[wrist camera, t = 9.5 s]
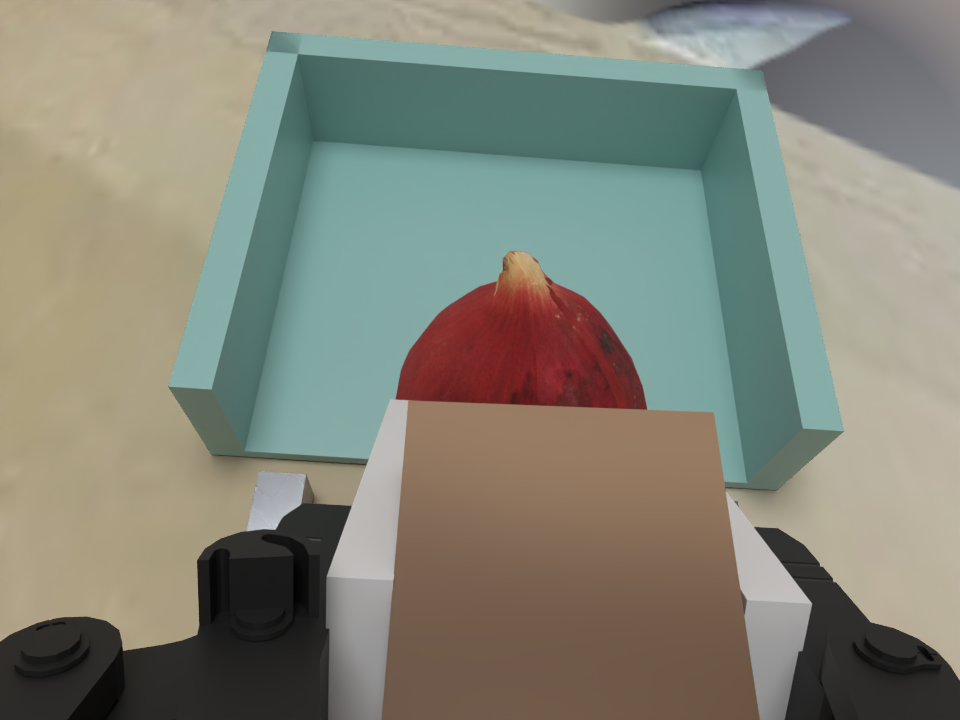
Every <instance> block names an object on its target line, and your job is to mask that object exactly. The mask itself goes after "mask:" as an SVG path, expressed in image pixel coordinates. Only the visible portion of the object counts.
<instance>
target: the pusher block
mask: <svg viewBox="0 0 960 720" xmlns="http://www.w3.org/2000/svg"><path fill="white" fill-rule="evenodd" d="M382 720H760V718H759V711H758V704H757V697H756V691H755V684H754V677H753V671H752V664H751V657H750V651H749V644H748V637H747V631H746V624H745V617H744V610H743V604H742V597H741V590H740V584H739V577H738V570H737V564H736V557H735V550H734V544H733V537H732V530H731V523H730V517H729V510H728V503H727V497H726V490H725V483H724V477H723V470H722V463H721V456H720V450H719V443H718V436H717V430H716V423H715V416H714V412H691V411H665V410H640V409H614V408H589V407H563V406H538V405H512V404H487V403H461V402H436V401H410V400H408V410H407V422H406V434H405V446H404V458H403V469H402V481H401V493H400V505H399V517H398V529H397V541H396V553H395V565H394V583H393V591H392V600H391V612H390V624H389V636H388V648H387V660H386V672H385V684H384V696H383V708H382Z"/></svg>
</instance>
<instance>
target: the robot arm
mask: <svg viewBox="0 0 960 720" xmlns="http://www.w3.org/2000/svg"><path fill="white" fill-rule="evenodd" d="M410 401H411V400H410ZM407 410H408V400H395V399H390V401H389V404H388V407H387V410H386V413H385V415H384V418H383V421H382V424H381V427H380V429H379V432H378V435H377V438H376V440H375V443H374V446H373V449H372V452H371V454H370V457H369V460H368V463H367V466H366V468H365V471H364V474H363V477H362V479H361V482H360V485H359V488H358V491H357V493H356V496H355V499H354V502H353V505H352V506H343V505H326V504H308V503H303V504H301V505H300V506H298V507H297V508H295V509H294V510H292V511H291V512H289V513H288V514H286V515H285V516H283V517H282V519H281V520H280V522H279V524H278V526H277V528H276V530H271V529H261V530H253V531H245V532H240V533H237V534H234V535H231V536H228V537H224V538H221V539H220V540H218V541H216V542H215V543H213V544H212V545H210V546H208V547H207V548H205V550H204V551H203V553H202V554H201V555H200V557H199V558H198V560H197V569H198V598H199V630H198V634H197V635H196V636H194V637H191V638H188V639H185V640H183V641H178V642H174V643H169V644H165V645H159V646H152V647H146V648H139V649H133V650H126V651H123V648H122V640H121V636H120V632H119V630H118V629H117V628H115V627H114V626H113V625H111V624H110V623H108V622H107V621H104V620H99V619H95V618H90V617H63V618H56V619H52V620H50V621H49V620H47V621H43V622H40V623H36V624H34V625H32V626H29V627H27V628H25V629H22V630H20V631H18V632H15V633H13V634H11V635H9V636H8V637H6V638H5V639H4V640H2V641H1V642H0V720H382V708H383V696H384V684H385V672H386V660H387V648H388V636H389V624H390V612H391V600H392V591H393V583H394V565H395V553H396V541H397V529H398V517H399V505H400V493H401V481H402V469H403V458H404V446H405V434H406V422H407ZM726 497H727V503H728V510H729V517H730V523H731V530H732V537H733V544H734V550H735V557H736V564H737V570H738V577H739V584H740V590H741V597H742V604H743V610H744V617H745V624H746V631H747V637H748V644H749V651H750V657H751V664H752V671H753V677H754V684H755V691H756V697H757V704H758V711H759V718H760V720H960V680H959V679H958V677H957V676H956V674H955V673H954V671H953V670H952V668H951V666H950V665H949V664H948V663H947V662H946V661H945V660H944V659H943V658H942V656H941V655H940V654H939V653H938V652H937V651H935V650H934V649H932V648H931V647H929V646H928V645H926V644H925V643H923V642H922V641H920V640H919V639H917V638H915V637H913V636H910V635H908V634H906V633H903V632H901V631H899V630H897V629H894V628H890V627H886V626H883V625H879V624H875V623H871V622H870V621H869V620H868V619H867V618H866V617H865V615H864V614H863V613H862V612H861V611H860V610H859V608H858V607H857V606H856V605H855V604H854V603H853V601H852V600H851V599H850V598H849V597H848V596H847V594H846V593H845V592H844V591H843V590H842V589H841V587H840V586H839V585H838V584H837V583H836V582H833V578H832V577H831V576H830V575H829V573H828V572H827V571H826V570H825V569H824V568H823V567H820V563H819V562H818V561H817V560H816V558H815V557H814V556H813V555H812V554H811V553H810V551H809V550H808V549H807V548H806V547H805V546H804V545H803V544H802V543H800V542H799V541H797V540H795V539H794V538H792V537H791V536H789V535H787V534H786V533H784V532H783V531H781V530H780V529H778V528H761V527H753V526H752V524H751V523H750V522H749V520H748V519H747V518H746V517H745V515H744V514H743V513H742V511H741V510H740V509H739V507H738V506H737V505H736V503H735V502H734V501H733V499H732V498H731V497H730V496H729V494H728V493H727V492H726Z"/></svg>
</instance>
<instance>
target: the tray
mask: <svg viewBox="0 0 960 720" xmlns="http://www.w3.org/2000/svg"><path fill="white" fill-rule="evenodd" d="M509 251H522V252H526V253H529V254H530V255H531V256H532V257H534V258H535V259H536V260H538V262H539V265H540V267H541V269H542V271H543V272H544V273H545V274H546V275H547V276H548V277H549V278H550V279H551V280H552V281H553V282H554V283H556V284H558V285H560V286H563V287H565V288H567V289H570V290H572V291H574V292H576V293H578V294H580V295H581V296H583V297H585V298H586V299H587V300H588V301H589V302H590V303H591V304H592V305H593V306H594V307H595V308H596V309H597V310H598V311H599V312H600V313H601V314H602V315H603V317H604V318H605V319H606V320H607V322H608V323H609V324H610V326H611V327H612V329H613V330H614V332H615V333H616V335H617V336H618V338H619V339H620V341H621V342H622V344H623V345H624V347H625V348H626V350H627V352H628V353H629V355H630V356H631V358H632V360H633V363H634V365H635V368H636V371H637V373H638V376H639V378H640V381H641V383H642V386H643V390H644V395H645V400H646V405H647V410H665V411H691V412H714V416H715V423H716V430H717V436H718V443H719V450H720V456H721V463H722V470H723V477H724V483H725V487H732V488H748V489H764V490H777V489H778V488H780V487H781V486H782V485H783V484H784V483H785V482H786V481H788V480H789V479H790V478H791V477H792V476H793V475H794V474H796V473H797V472H798V471H799V470H800V469H801V468H803V467H804V466H805V465H806V464H807V463H808V462H809V461H811V460H812V459H813V458H814V457H815V456H816V455H817V454H819V453H820V452H821V451H822V450H823V449H824V448H825V447H827V446H828V445H829V444H830V443H831V442H832V441H833V440H835V439H836V438H837V437H838V436H839V435H840V434H841V433H843V432H844V429H843V424H842V420H841V416H840V411H839V407H838V402H837V398H836V394H835V389H834V385H833V380H832V376H831V371H830V367H829V363H828V358H827V354H826V349H825V345H824V340H823V336H822V332H821V327H820V323H819V318H818V314H817V309H816V305H815V301H814V296H813V292H812V287H811V283H810V278H809V274H808V270H807V265H806V261H805V256H804V252H803V248H802V243H801V239H800V234H799V230H798V225H797V221H796V217H795V212H794V208H793V203H792V199H791V194H790V190H789V186H788V181H787V177H786V172H785V168H784V163H783V159H782V155H781V150H780V146H779V141H778V137H777V132H776V128H775V124H774V119H773V115H772V110H771V106H770V102H769V97H768V93H767V88H766V84H765V79H764V75H763V71H760V70H747V69H735V68H722V67H710V66H698V65H685V64H673V63H660V62H648V61H635V60H623V59H610V58H598V57H586V56H573V55H561V54H548V53H536V52H523V51H511V50H498V49H486V48H473V47H461V46H449V45H436V44H424V43H411V42H399V41H386V40H374V39H361V38H349V37H337V36H324V35H312V34H299V33H287V32H274V31H272V33H271V36H270V40H269V43H268V47H267V50H266V54H265V57H264V60H263V64H262V67H261V71H260V74H259V77H258V81H257V84H256V88H255V91H254V95H253V98H252V101H251V105H250V108H249V112H248V115H247V119H246V122H245V125H244V129H243V132H242V136H241V139H240V143H239V146H238V149H237V153H236V156H235V160H234V163H233V167H232V170H231V173H230V177H229V180H228V184H227V187H226V190H225V194H224V197H223V201H222V204H221V208H220V211H219V214H218V218H217V221H216V225H215V228H214V232H213V235H212V238H211V242H210V245H209V249H208V252H207V256H206V259H205V262H204V266H203V269H202V273H201V276H200V279H199V283H198V286H197V290H196V293H195V297H194V300H193V303H192V307H191V310H190V314H189V317H188V321H187V324H186V327H185V331H184V334H183V338H182V341H181V345H180V348H179V351H178V355H177V358H176V362H175V365H174V369H173V372H172V375H171V379H170V382H169V386H168V387H169V389H170V390H171V392H172V393H173V395H174V396H175V398H176V400H177V401H178V403H179V404H180V406H181V407H182V409H183V411H184V412H185V414H186V415H187V417H188V418H189V420H190V422H191V423H192V425H193V426H194V428H195V429H196V431H197V432H198V434H199V436H200V437H201V439H202V440H203V442H204V443H205V445H206V447H207V448H208V450H209V451H210V453H211V454H212V455H228V456H244V457H259V458H275V459H291V460H307V461H322V462H338V463H354V464H367V463H368V460H369V457H370V454H371V452H372V449H373V446H374V443H375V440H376V438H377V435H378V432H379V429H380V427H381V424H382V421H383V418H384V415H385V413H386V410H387V407H388V404H389V401H390V399H396V394H397V388H398V383H399V377H400V372H401V368H402V366H403V364H404V361H405V359H406V357H407V354H408V352H409V350H410V349H411V348H412V346H413V345H414V344H415V342H416V341H417V340H418V339H419V337H420V336H421V335H422V333H423V332H424V331H425V329H426V328H427V327H428V326H429V324H430V323H431V322H432V321H433V319H434V318H435V317H436V316H437V315H438V313H440V312H441V311H442V310H443V309H445V308H446V307H447V306H449V305H450V304H452V303H453V302H455V301H456V300H458V299H459V298H461V297H463V296H464V295H466V294H467V293H469V292H471V291H472V290H474V289H476V288H477V287H479V286H482V285H486V284H489V283H492V282H496V281H498V277H499V274H500V273H501V272H502V271H503V258H504V257H505V255H506V254H507V253H508V252H509Z"/></svg>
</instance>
